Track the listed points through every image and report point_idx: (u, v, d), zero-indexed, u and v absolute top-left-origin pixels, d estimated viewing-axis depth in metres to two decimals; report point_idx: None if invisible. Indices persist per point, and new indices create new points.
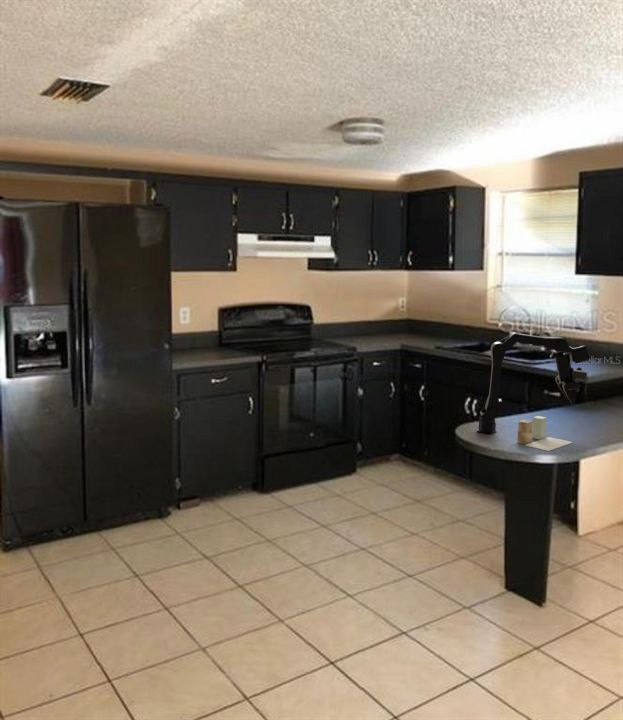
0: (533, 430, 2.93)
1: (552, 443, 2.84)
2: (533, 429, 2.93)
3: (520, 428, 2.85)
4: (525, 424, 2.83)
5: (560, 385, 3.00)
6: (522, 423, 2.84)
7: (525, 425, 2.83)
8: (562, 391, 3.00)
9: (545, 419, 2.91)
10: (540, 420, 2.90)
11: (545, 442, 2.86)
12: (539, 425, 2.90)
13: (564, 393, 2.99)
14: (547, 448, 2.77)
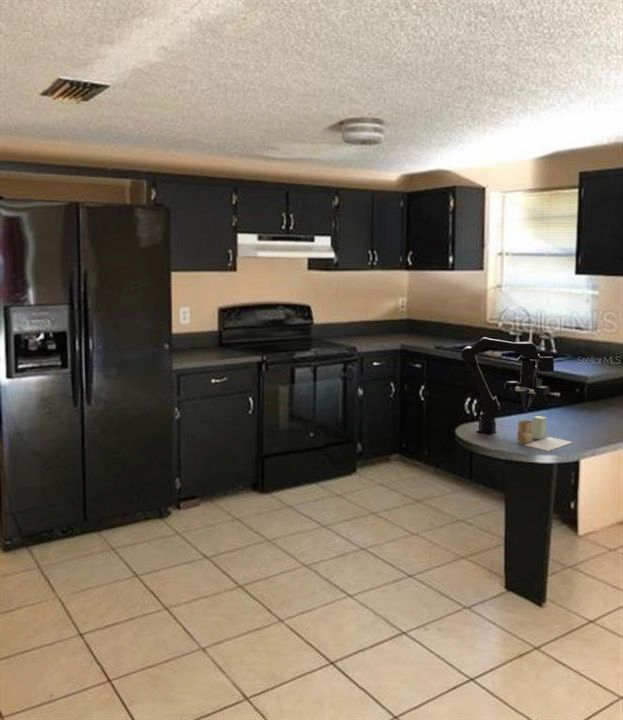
0: (533, 430, 2.93)
1: (552, 443, 2.84)
2: (533, 429, 2.93)
3: (520, 428, 2.85)
4: (525, 424, 2.83)
5: (520, 392, 2.96)
6: (522, 423, 2.84)
7: (525, 425, 2.83)
8: (521, 398, 2.96)
9: (545, 419, 2.91)
10: (540, 420, 2.90)
11: (545, 442, 2.86)
12: (539, 425, 2.90)
13: (522, 401, 2.97)
14: (547, 448, 2.77)
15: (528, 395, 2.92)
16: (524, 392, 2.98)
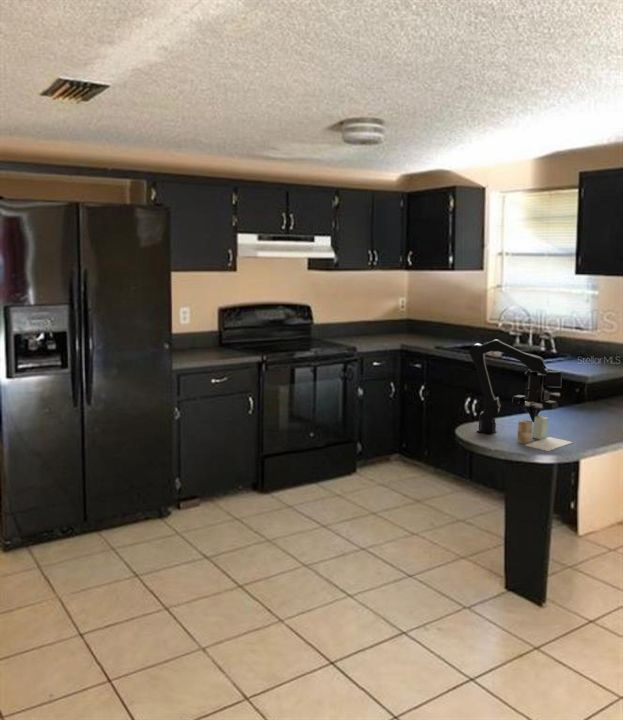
0: (534, 429, 2.93)
1: (552, 443, 2.84)
2: (534, 429, 2.93)
3: (520, 428, 2.85)
4: (525, 424, 2.83)
5: (530, 407, 2.93)
6: (522, 423, 2.84)
7: (525, 425, 2.83)
8: (531, 413, 2.93)
9: (547, 419, 2.91)
10: (542, 420, 2.89)
11: (545, 442, 2.86)
12: (540, 425, 2.90)
13: None
14: (547, 448, 2.77)
15: (534, 409, 2.91)
16: (534, 407, 2.95)
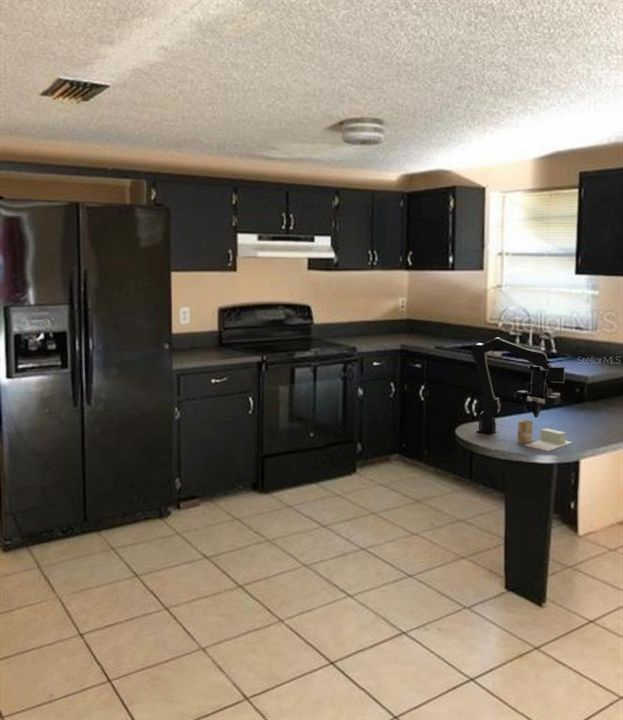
0: (548, 432, 2.88)
1: (552, 443, 2.84)
2: (548, 432, 2.87)
3: (520, 428, 2.85)
4: (525, 424, 2.83)
5: (532, 402, 2.92)
6: (522, 423, 2.84)
7: (525, 425, 2.83)
8: (533, 409, 2.92)
9: None
10: (558, 442, 2.85)
11: (545, 442, 2.86)
12: (553, 440, 2.86)
13: (534, 411, 2.93)
14: (547, 448, 2.77)
15: (537, 405, 2.90)
16: None
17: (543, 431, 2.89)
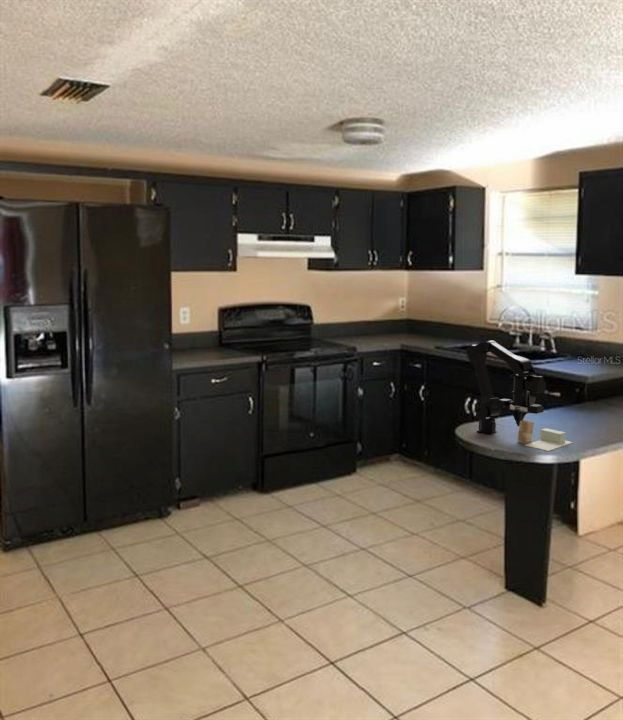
0: (548, 432, 2.88)
1: (552, 443, 2.84)
2: (548, 432, 2.87)
3: (521, 427, 2.85)
4: (526, 424, 2.82)
5: (515, 411, 2.86)
6: (523, 423, 2.83)
7: (526, 425, 2.83)
8: (516, 417, 2.86)
9: None
10: (558, 442, 2.85)
11: (545, 442, 2.86)
12: (553, 440, 2.86)
13: (517, 420, 2.87)
14: (547, 448, 2.77)
15: (519, 413, 2.84)
16: (519, 411, 2.88)
17: (543, 431, 2.89)
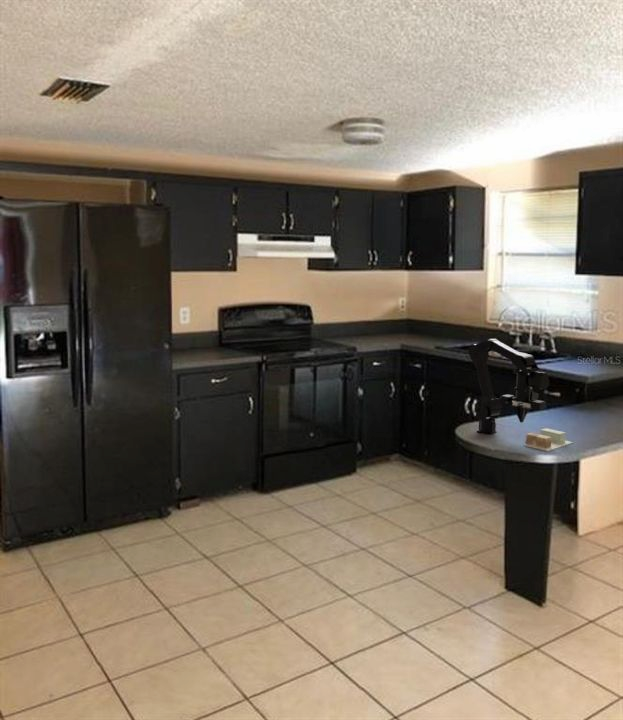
0: (548, 432, 2.88)
1: (552, 443, 2.84)
2: (548, 432, 2.87)
3: (540, 439, 2.79)
4: (544, 446, 2.77)
5: (518, 407, 2.85)
6: (544, 442, 2.77)
7: (543, 446, 2.78)
8: (518, 413, 2.85)
9: None
10: (558, 442, 2.85)
11: None
12: (553, 440, 2.86)
13: (519, 416, 2.85)
14: (547, 448, 2.77)
15: (522, 409, 2.83)
16: (522, 407, 2.87)
17: (543, 431, 2.89)
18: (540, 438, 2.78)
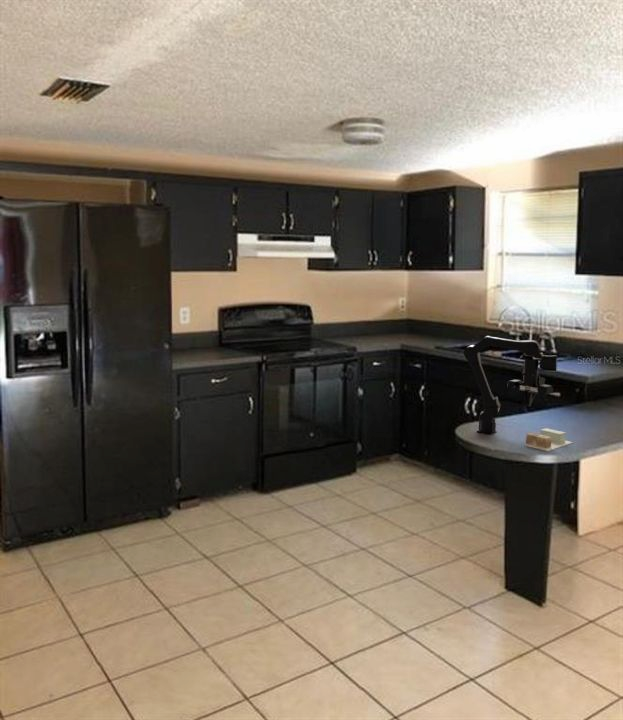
0: (548, 432, 2.88)
1: (552, 443, 2.84)
2: (548, 432, 2.87)
3: (540, 439, 2.79)
4: (544, 446, 2.77)
5: (525, 391, 2.93)
6: (544, 442, 2.77)
7: (543, 446, 2.78)
8: (526, 398, 2.93)
9: None
10: (558, 442, 2.85)
11: None
12: (553, 440, 2.86)
13: (527, 400, 2.94)
14: (547, 448, 2.77)
15: (529, 393, 2.91)
16: None
17: (543, 431, 2.89)
18: (540, 438, 2.78)
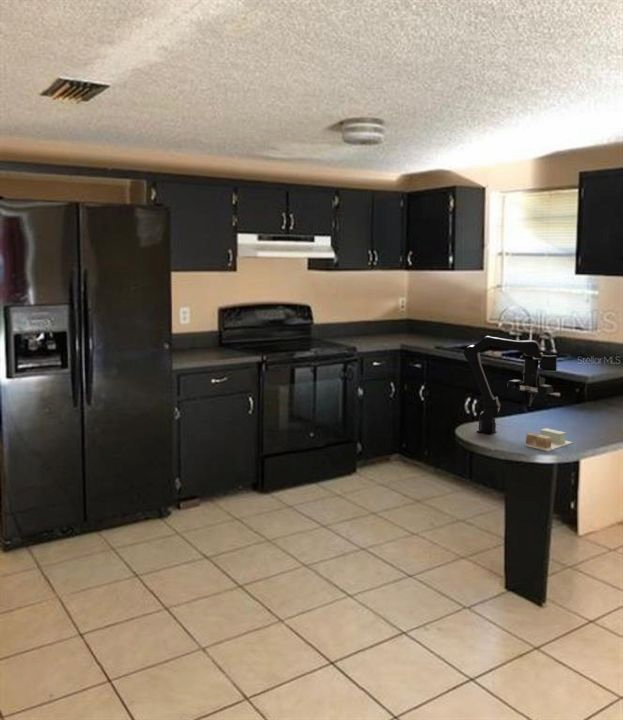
0: (548, 432, 2.88)
1: (552, 443, 2.84)
2: (548, 432, 2.87)
3: (540, 439, 2.79)
4: (544, 446, 2.77)
5: (525, 391, 2.93)
6: (544, 442, 2.77)
7: (543, 446, 2.78)
8: (526, 398, 2.93)
9: None
10: (558, 442, 2.85)
11: None
12: (553, 440, 2.86)
13: (527, 400, 2.94)
14: (547, 448, 2.77)
15: (529, 393, 2.91)
16: None
17: (543, 431, 2.89)
18: (540, 438, 2.78)
